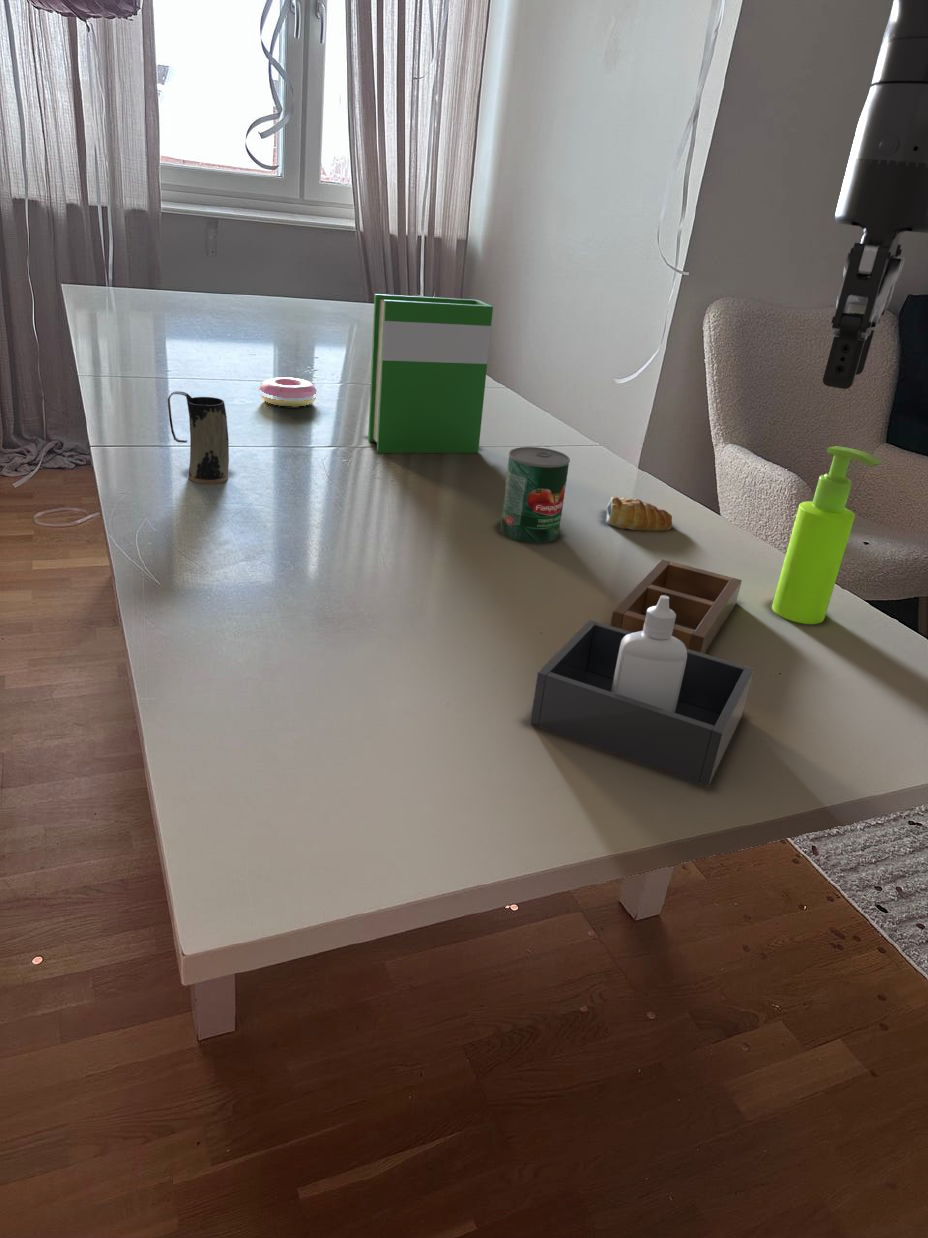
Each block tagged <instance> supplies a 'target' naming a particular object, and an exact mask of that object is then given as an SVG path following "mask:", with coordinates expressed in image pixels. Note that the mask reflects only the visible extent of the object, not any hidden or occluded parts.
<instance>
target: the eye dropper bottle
mask: <svg viewBox="0 0 928 1238" xmlns="http://www.w3.org/2000/svg"><path fill="white" fill-rule="evenodd" d="M645 616H646V617H645V622H644V627H643V631H639V632H634V633H631V634H628V635H626V636H624V638H623V639H622V641H621V644H620V649H619V653H618V658H617V663H616V669H615V674H614V679H613V684H612V689H611V692H613V693H616V694H619V695H622V696H625V697H628V698H631V699H634V700H637V701H640V702H643V703H646V704H649V705H652V706H655V707H659V708H662V709H665V710H668V711H671V712H674V713H675V710H676V705H677V701H678V697H679V692H680V688H681V683H682V679H683V675H684V670H685V665H686V660H687V650H686V647H685V645H684V643H683V642H682V641H680V640H679V639H677V638H675V637H673V636H672V632H673V628H674V624H675V622H676V621H675V618H676V614H675V612H674V611H673V610H671V609H670V608H669V597H668V596H665V595H661V596H660V599H659V601H658V603H657V605H656V606H652V607H649V608H648V609H647V612H646V613H645Z"/></svg>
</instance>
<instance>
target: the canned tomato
mask: <svg viewBox="0 0 928 1238" xmlns="http://www.w3.org/2000/svg"><path fill="white" fill-rule="evenodd" d="M570 462H571V459H570V457H569V455H567V454H565V453H563V452H561V451H558V450H555V449H551V448H545V447H538V446H521V447H515V448H512V449H510V450H509V452H508V462H507V470H506V478H505V487H504V495H503V502H502V503H503V505H502V511H501V520H500V523H501V524H500V532H501V533H502V534H503V535H505V536H506V537H508V538H509V539H513V540H516V541H519V542H525V543H532V544H533V543H535V544H541V543H542V544H543V543H549V542H554V541H555V540H557V539H558V538H559V533H560V528H561V522H562V521H561V520H562V513H563V506H564V499H565V494H566V486H567V482H568V481H567V480H568V474H569V466H570Z"/></svg>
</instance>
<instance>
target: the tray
mask: <svg viewBox="0 0 928 1238" xmlns="http://www.w3.org/2000/svg"><path fill="white" fill-rule="evenodd" d="M741 586H742V579H740V578H735V577H732V576H728V575H724V574H721V573H716V572H713V571H708V570H706V569H702V568H698V567H693V566H690V565H685V564H682V563H678V562H674V561H670V560H667V559H663V558H662V559H660V560H659V562H658V563H657V564H656V565H655V566H654V567H652V569H651V570H650V571H649V572H648V573H647V574H646V575H645V576H644V577H643V578H642V579H641V581H639V583H638V584H636V586H635V587H634V588H633V589H632V590H631V591H630V592H629V594H627V596H625V598H624V599H623V600H622V601H621V602H620V603H619V604H618V605H617V606H616V607H615V608H614V609H613V611H612V614H611V618H610V624H609V626H613V627H616V628H619V629H623V630H626V631H629V632H633V633H634V632H639V631H643V627H644V622H645V617H646V612H647V609H648V608H649V607H652V606H656V605H657V603H658V601H659V599H660V596H661V595H665V596H668V597H669V608H670V609H671V610H673V611H674V612H675V614H676V618H675V622H677V623H681V624H683V625H688V626H690V627H694V628H696V629H692V628H689V627H685V626H683V625H679V624H675V623H674V628H673V632H672V636H673V637H675V638H677V639H679V640H680V641H682V642H683V643H684V645H685V647H686V649H690V650H693V651H697V652H700V653H703V654H706V652H707V650H708V648H709V647H710V645H711V644H712V643H713V641H714V640H715V638H716V636H717V634H718V633H719V632H720V630H721V628H722V626H723V625H724V624H725V622H726V620H727V619H728V617H729V615H730V614H731V612H732V611H733V610H734V607H735V606H736V605H737V601H738V597H739V593H740V590H741ZM643 613H645V614H643Z"/></svg>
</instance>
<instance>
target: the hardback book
mask: <svg viewBox="0 0 928 1238" xmlns="http://www.w3.org/2000/svg"><path fill="white" fill-rule="evenodd" d="M373 301H374V302H373V323H372V327H373V328H372V345H371V369H370V388H369V389H370V391H369V408H368V409H369V410H368V411H369V412H368V431H367V432H368V433H367V435H368V436H367V441H368V442H369V443H376V452H377V454H479V450H480V441H481V440H480V439H481V430H482V429H481V428H482V420H483V412H484V411H483V408H484V398H485V392H486V391H485V390H486V381H487V380H486V379H487V371H488V361H489V352H490V351H489V349H490V341H491V330H492V321H493V312H494V311H493V310H494V306H492V305H490V304H488V303H486V302H483V300H482V301H481V300H479V299H471V298H470V299H468V298H453V297H451V298H450V297H435V296H434V297H433V296H418V295H402V294H401V295H400V294H399V295H398V294H382V293H374V300H373Z"/></svg>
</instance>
